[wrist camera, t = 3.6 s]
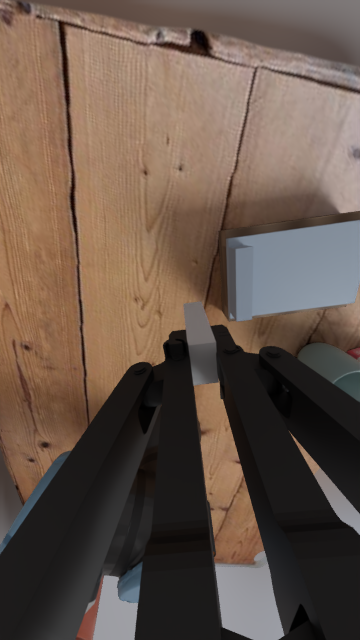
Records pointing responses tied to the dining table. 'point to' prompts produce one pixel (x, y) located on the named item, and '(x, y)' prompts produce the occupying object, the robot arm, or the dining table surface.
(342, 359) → the cup
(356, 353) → the ink box
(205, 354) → the robot arm
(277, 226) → the box
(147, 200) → the dining table surface
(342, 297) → the lid
